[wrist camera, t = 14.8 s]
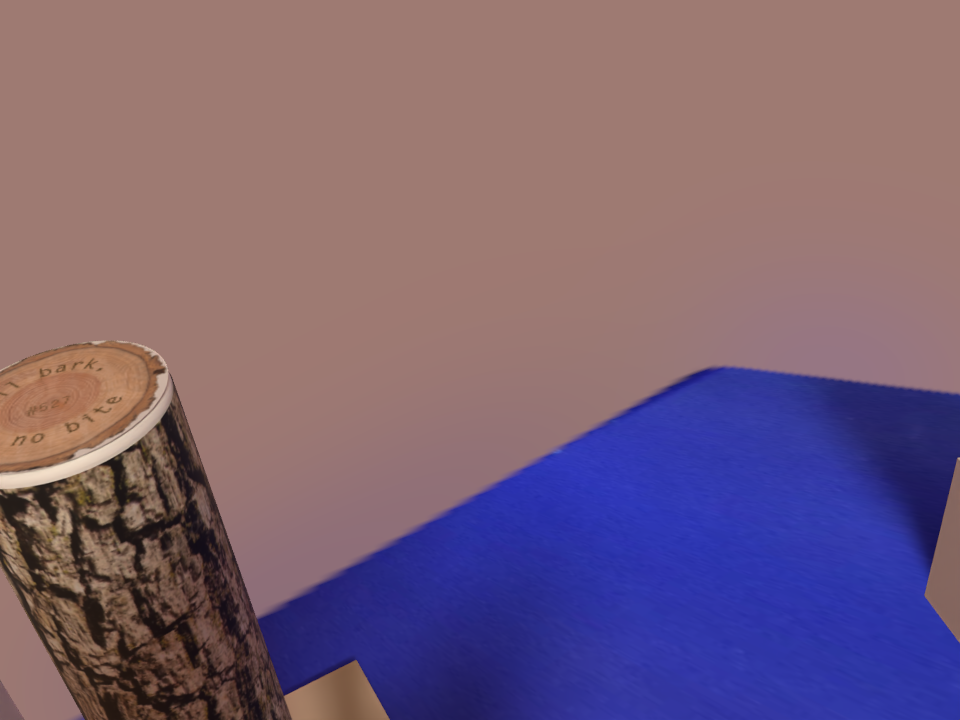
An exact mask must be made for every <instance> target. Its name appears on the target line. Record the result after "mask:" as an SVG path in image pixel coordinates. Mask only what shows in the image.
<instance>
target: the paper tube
mask: <svg viewBox="0 0 960 720" xmlns="http://www.w3.org/2000/svg"><path fill="white" fill-rule="evenodd" d="M0 567H1V569H2V571H3V572H4V574H5V576H6V578H7V580H8V581H9V583H10V585H11V587H12V588H13V590H14V592H15V594H16V596H17V598H18V599H19V601H20V603H21V605H22V607H23V608H24V610H25V612H26V614H27V616H28V617H29V619H30V621H31V623H32V625H33V626H34V628H35V630H36V632H37V634H38V636H39V637H40V639H41V641H42V643H43V645H44V646H45V648H46V650H47V652H48V654H49V655H50V657H51V659H52V661H53V663H54V664H55V666H56V668H57V670H58V672H59V673H60V675H61V677H62V679H63V681H64V682H65V684H66V686H67V688H68V689H69V691H70V693H71V695H72V697H73V699H74V701H75V702H76V704H77V706H78V708H79V709H80V711H81V713H82V715H83V717H84V719H85V720H292V718H291V715H290V712H289V709H288V707H287V704H286V701H285V698H284V695H283V692H282V690H281V687H280V684H279V681H278V678H277V675H276V672H275V670H274V667H273V664H272V661H271V658H270V655H269V652H268V650H267V647H266V644H265V641H264V638H263V635H262V633H261V630H260V627H259V624H258V621H257V618H256V616H255V613H254V610H253V607H252V604H251V601H250V598H249V596H248V593H247V590H246V587H245V584H244V582H243V579H242V576H241V573H240V570H239V567H238V564H237V561H236V558H235V556H234V553H233V550H232V547H231V544H230V542H229V539H228V536H227V533H226V530H225V528H224V524H223V522H222V519H221V516H220V513H219V510H218V507H217V504H216V502H215V499H214V496H213V493H212V490H211V487H210V484H209V482H208V479H207V476H206V473H205V470H204V467H203V465H202V462H201V459H200V456H199V453H198V450H197V447H196V444H195V442H194V439H193V436H192V433H191V431H190V428H189V425H188V422H187V419H186V416H185V413H184V411H183V407H182V405H181V402H180V399H179V396H178V393H177V390H176V388H175V385H174V382H173V379H172V377H171V375H170V373H169V371H168V368H167V365H166V363H165V361H164V360H163V358H162V357H161V356H160V355H159V354H158V353H157V352H155V351H154V350H152V349H150V348H148V347H145V346H143V345H140V344H135V343H130V342H124V341H94V342H85V343H79V344H73V345H69V346H63V347H59V348H56V349H52V350H49V351H45V352H42V353H39V354H36V355H33V356H31V357H28V358H26V359H23V360H21V361H19V362H16V363H14V364H12V365H10V366H8V367H6V368H4V369H2V370H0Z"/></svg>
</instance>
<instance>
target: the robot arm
mask: <svg viewBox="0 0 960 720" xmlns="http://www.w3.org/2000/svg"><path fill="white" fill-rule="evenodd" d="M924 596H925V597H926V599H927V600H928V601H929V603H930V604H931V605H932V607H933V608H934V609H935V611H936V612H937V613H938V615H939V616H940V617H941V619H942V620H943V621H944V623H945V624H946V625H947V627H948V628H949V629H950V631H951V632H952V633H953V635H954V636H955V637H956V639H957V640H958V641H959V643H960V458H957V462H956V466H955V470H954V474H953V479H952V483H951V487H950V491H949V495H948V499H947V504H946V508H945V512H944V516H943V520H942V524H941V529H940V533H939V537H938V541H937V545H936V549H935V554H934V558H933V562H932V566H931V570H930V574H929V579H928V583H927V587H926V591H925V595H924ZM0 720H24V718H23V717H22V715H21V714H20V712H19V710H18V709H17V707H16V705H15V704H14V702H13V701H12V699H11V697H10V695H9V694H8V692H7V691H6V689H5V688H4V686H3V684H2V682H1V681H0Z"/></svg>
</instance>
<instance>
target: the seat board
mask: <svg viewBox="0 0 960 720" xmlns="http://www.w3.org/2000/svg"><path fill="white" fill-rule="evenodd" d="M284 698H285V701H286V704H287V707H288V709H289V712H290V715H291V718H292V720H390V719H389V718H388V716H387V714H386V712H385V710H384V709H383V707H382V705H381V703H380V701H379V700H378V698H377V696H376V694H375V692H374V691H373V689H372V687H371V685H370V683H369V682H368V680H367V678H366V676H365V675H364V673H363V671H362V669H361V667H360V666H359V664H358V662H357V660H355V661H353V662H351V663H349V664H347V665H345V666H343V667H341V668H339V669H337V670H335V671H333V672H331V673H329V674H327V675H325V676H323V677H321V678H319V679H317V680H315V681H313V682H311V683H309V684H307V685H305V686H303V687H301V688H299V689H297V690H295V691H293V692H291V693H289V694H287V695H285V696H284Z"/></svg>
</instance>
